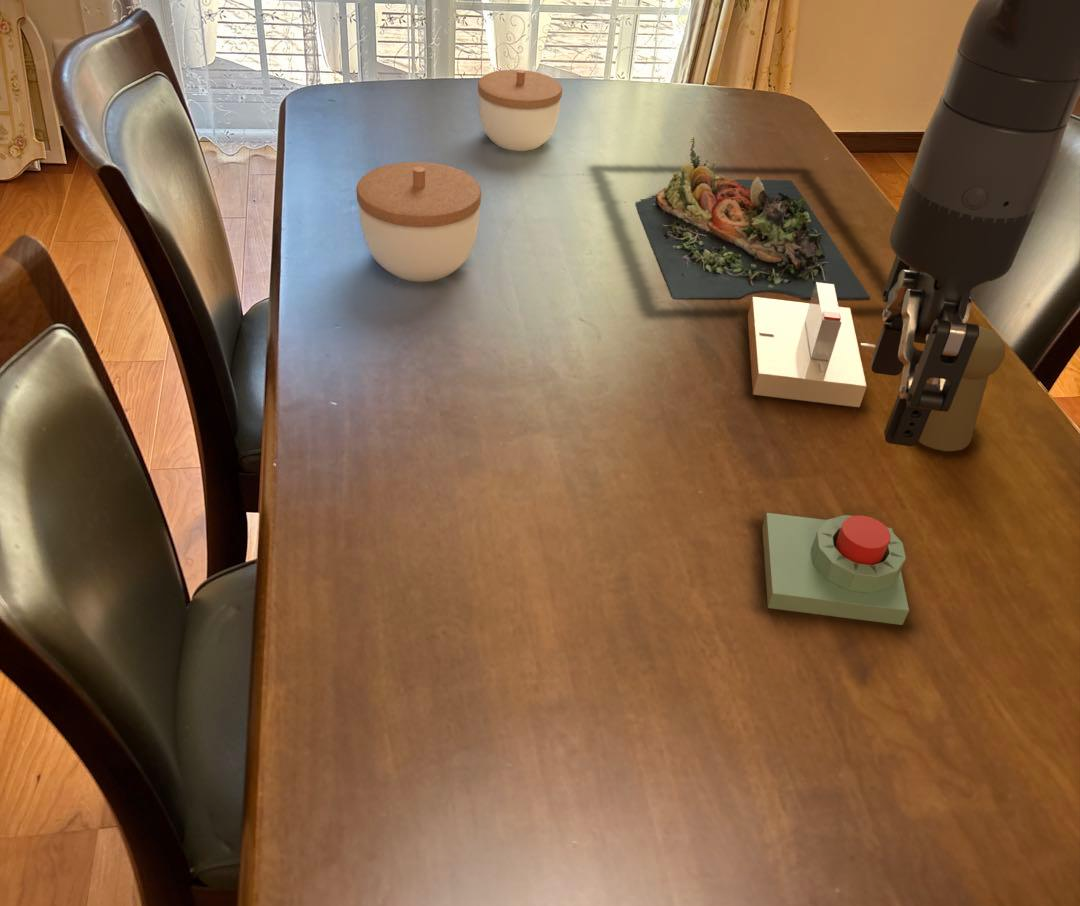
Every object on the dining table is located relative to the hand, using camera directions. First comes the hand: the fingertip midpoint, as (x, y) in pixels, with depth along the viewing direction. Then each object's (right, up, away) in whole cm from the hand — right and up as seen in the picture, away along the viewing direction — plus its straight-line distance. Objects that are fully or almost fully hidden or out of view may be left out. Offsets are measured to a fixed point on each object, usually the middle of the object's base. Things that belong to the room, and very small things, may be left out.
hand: (891, 405), depth 72 cm
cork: (+12, 0, +22) cm, 25 cm away
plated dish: (-2, +26, +48) cm, 54 cm away
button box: (-2, -13, +7) cm, 15 cm away
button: (-1, -10, +5) cm, 11 cm away
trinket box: (-28, +43, +63) cm, 81 cm away
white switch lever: (+2, +10, +27) cm, 29 cm away
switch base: (+1, +8, +29) cm, 30 cm away
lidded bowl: (-38, +19, +38) cm, 57 cm away
